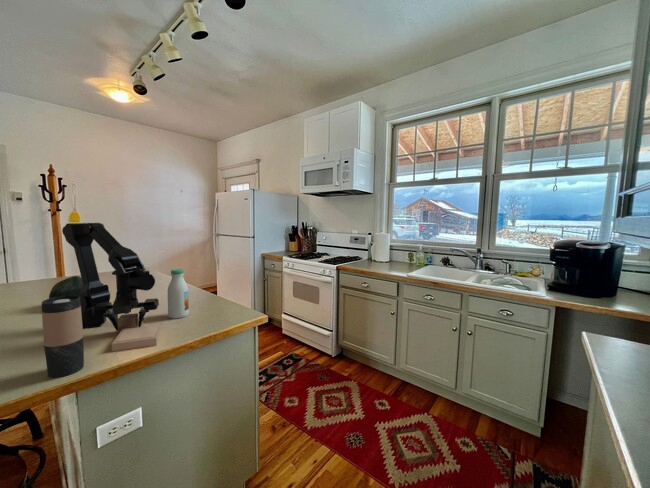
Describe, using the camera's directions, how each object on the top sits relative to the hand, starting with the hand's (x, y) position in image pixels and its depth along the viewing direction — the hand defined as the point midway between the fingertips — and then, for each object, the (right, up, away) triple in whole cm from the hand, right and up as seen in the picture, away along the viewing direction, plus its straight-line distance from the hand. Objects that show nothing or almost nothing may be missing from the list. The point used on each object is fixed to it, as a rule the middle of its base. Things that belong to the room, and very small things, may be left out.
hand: (128, 329), depth 99 cm
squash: (-43, +2, +25) cm, 50 cm away
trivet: (+8, -2, -6) cm, 10 cm away
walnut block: (0, -1, 0) cm, 1 cm away
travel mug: (+1, -4, -24) cm, 25 cm away
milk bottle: (+9, 0, +17) cm, 19 cm away
